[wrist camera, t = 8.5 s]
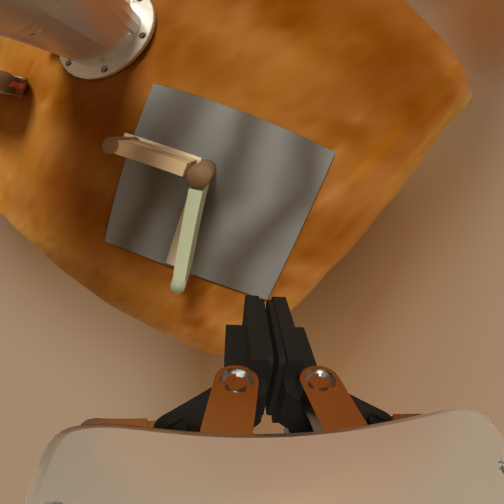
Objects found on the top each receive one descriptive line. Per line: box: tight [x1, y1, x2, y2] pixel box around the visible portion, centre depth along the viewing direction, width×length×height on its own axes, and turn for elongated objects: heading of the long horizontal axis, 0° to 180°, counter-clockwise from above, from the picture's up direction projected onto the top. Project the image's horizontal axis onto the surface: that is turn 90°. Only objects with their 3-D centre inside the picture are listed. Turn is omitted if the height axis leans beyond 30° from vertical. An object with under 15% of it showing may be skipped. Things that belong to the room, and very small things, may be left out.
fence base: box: [102, 84, 335, 300], centre depth 28 cm, size 22×19×7 cm
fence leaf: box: [170, 182, 209, 293], centre depth 29 cm, size 10×1×6 cm, turn 166°
